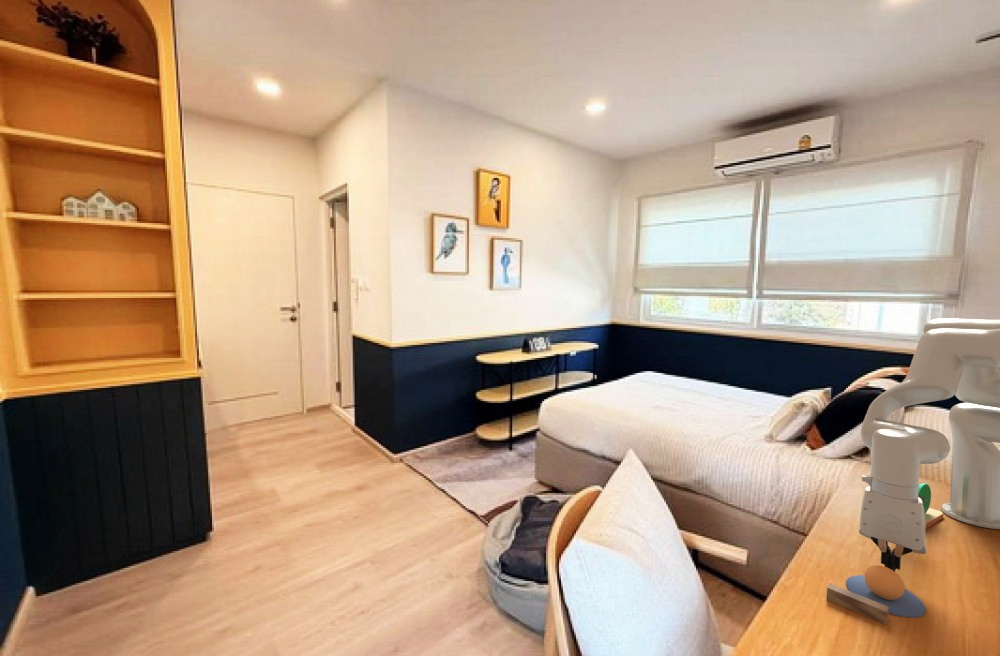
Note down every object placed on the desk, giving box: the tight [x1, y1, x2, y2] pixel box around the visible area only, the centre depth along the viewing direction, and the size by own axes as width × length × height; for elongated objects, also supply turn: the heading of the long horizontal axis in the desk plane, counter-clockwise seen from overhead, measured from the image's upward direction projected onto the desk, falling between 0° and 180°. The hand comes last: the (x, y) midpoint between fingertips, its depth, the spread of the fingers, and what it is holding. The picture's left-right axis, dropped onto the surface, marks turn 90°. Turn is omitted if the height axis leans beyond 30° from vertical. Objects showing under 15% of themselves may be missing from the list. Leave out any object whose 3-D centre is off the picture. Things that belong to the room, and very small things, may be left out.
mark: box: [845, 574, 927, 618], centre depth 85 cm, size 12×12×1 cm
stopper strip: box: [826, 583, 890, 626], centre depth 82 cm, size 9×2×2 cm, turn 40°
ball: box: [864, 565, 906, 600], centre depth 85 cm, size 6×6×6 cm
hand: (890, 569), depth 91 cm, fingers closed
